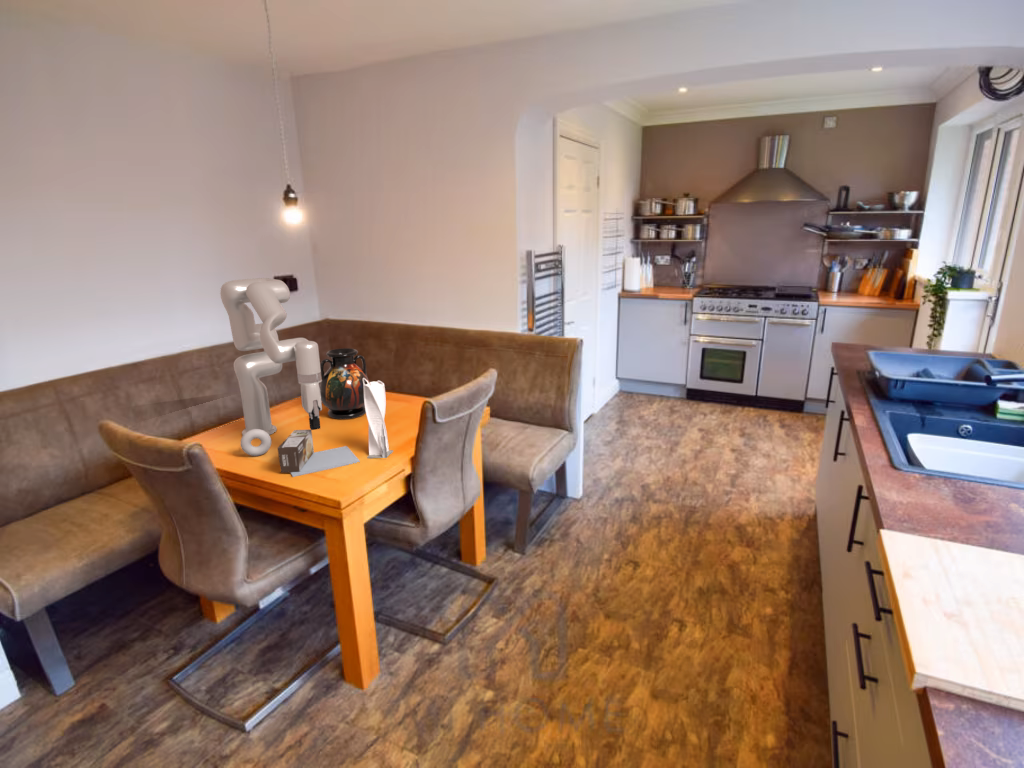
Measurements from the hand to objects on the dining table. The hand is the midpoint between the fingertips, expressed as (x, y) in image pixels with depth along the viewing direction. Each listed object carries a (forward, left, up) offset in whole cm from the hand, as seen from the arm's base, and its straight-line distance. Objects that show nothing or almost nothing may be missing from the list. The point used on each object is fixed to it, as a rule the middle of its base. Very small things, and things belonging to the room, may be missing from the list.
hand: (315, 428), depth 193 cm
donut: (-13, -18, -11) cm, 25 cm away
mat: (+4, 0, -11) cm, 12 cm away
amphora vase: (-42, +22, -11) cm, 49 cm away
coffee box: (-4, -3, -6) cm, 8 cm away
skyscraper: (+9, +19, -11) cm, 24 cm away
